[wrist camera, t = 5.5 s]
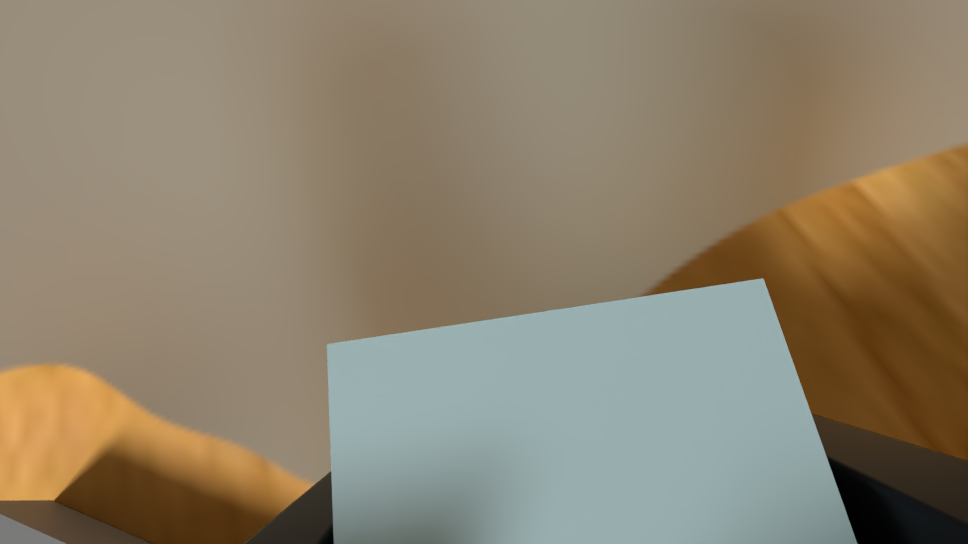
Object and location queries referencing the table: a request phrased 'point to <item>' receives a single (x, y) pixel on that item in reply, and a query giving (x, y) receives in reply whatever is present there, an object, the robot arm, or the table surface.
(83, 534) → the podium
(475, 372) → the carton
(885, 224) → the table surface
